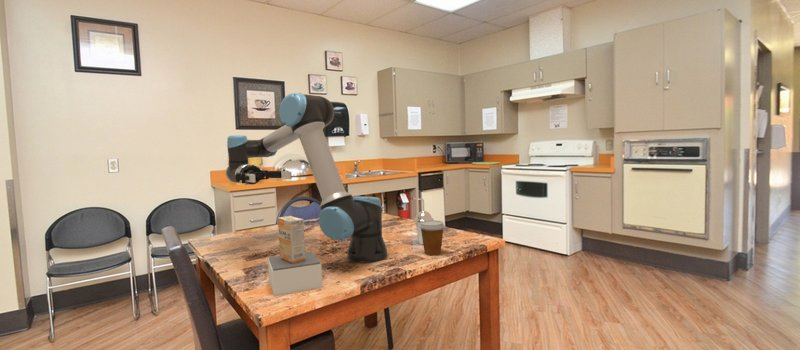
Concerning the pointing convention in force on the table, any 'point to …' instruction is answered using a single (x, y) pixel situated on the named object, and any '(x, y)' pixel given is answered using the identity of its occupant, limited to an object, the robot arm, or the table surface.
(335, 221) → the robot arm
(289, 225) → the supplement box
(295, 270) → the riser block
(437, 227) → the disposable coffee cup
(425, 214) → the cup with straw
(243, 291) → the table surface
